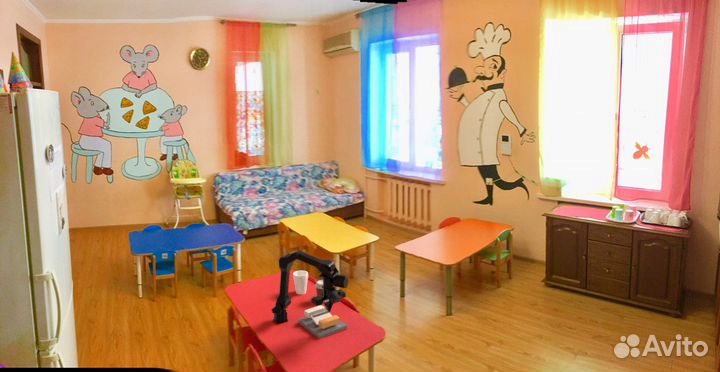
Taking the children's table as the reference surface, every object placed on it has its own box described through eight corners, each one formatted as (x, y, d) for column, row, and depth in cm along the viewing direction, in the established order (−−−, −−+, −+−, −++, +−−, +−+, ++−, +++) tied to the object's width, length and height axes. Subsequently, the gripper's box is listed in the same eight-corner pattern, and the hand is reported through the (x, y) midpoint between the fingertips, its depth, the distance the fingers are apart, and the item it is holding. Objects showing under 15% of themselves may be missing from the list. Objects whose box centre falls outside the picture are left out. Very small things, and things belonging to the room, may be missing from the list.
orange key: (322, 328, 260) (322, 323, 260) (318, 325, 263) (318, 320, 263) (339, 322, 266) (339, 317, 266) (335, 320, 270) (335, 314, 269)
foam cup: (296, 296, 307) (295, 277, 305) (291, 291, 316) (290, 272, 313) (310, 293, 312) (310, 274, 309) (305, 288, 320) (304, 269, 317)
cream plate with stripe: (316, 325, 265) (317, 324, 264) (310, 316, 270) (310, 315, 269) (333, 319, 271) (334, 318, 271) (327, 311, 276) (327, 309, 275)
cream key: (308, 318, 272) (308, 313, 271) (304, 315, 275) (304, 310, 274) (325, 312, 278) (324, 307, 278) (321, 309, 281) (321, 305, 281)
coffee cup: (325, 295, 309) (324, 277, 306) (333, 301, 301) (332, 282, 299) (312, 299, 303) (312, 281, 301) (320, 305, 296) (320, 286, 294)
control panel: (319, 339, 257) (318, 331, 256) (298, 322, 275) (298, 315, 274) (347, 328, 268) (347, 321, 267) (325, 313, 285) (325, 307, 284)
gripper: (321, 294, 248) (322, 323, 252) (351, 285, 259) (351, 313, 262) (310, 287, 257) (310, 314, 260) (339, 278, 268) (340, 305, 271)
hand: (328, 312), depth 263 cm, fingers closed
